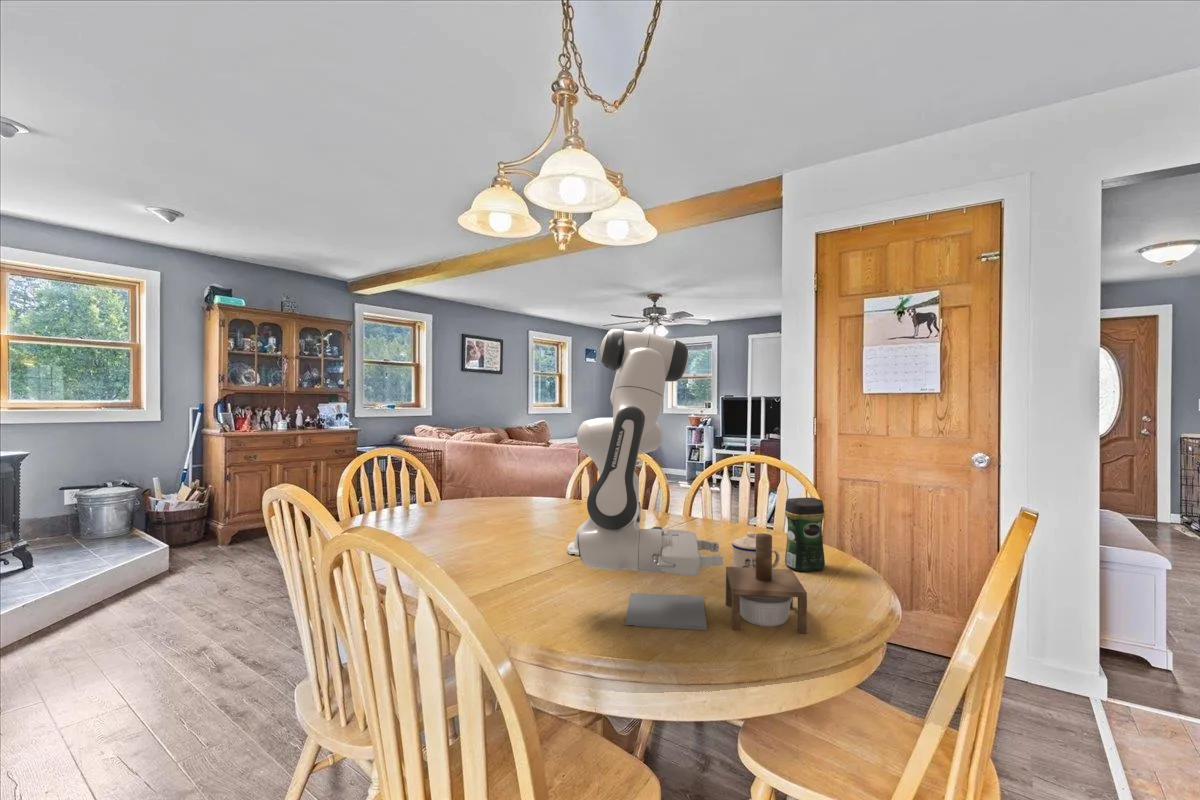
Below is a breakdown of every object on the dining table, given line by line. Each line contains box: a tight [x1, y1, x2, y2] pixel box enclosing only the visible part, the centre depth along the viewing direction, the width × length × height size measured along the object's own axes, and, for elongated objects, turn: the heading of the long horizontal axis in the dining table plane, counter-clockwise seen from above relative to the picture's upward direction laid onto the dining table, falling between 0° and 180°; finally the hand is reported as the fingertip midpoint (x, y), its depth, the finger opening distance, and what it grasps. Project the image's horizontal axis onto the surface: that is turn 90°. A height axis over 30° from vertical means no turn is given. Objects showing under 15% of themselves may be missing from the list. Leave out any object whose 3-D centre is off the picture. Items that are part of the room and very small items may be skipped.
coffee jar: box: [784, 497, 826, 572], centre depth 148 cm, size 10×8×19 cm
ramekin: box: [740, 595, 792, 627], centre depth 115 cm, size 11×11×5 cm
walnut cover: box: [725, 532, 808, 635], centre depth 115 cm, size 14×14×17 cm
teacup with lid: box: [731, 531, 781, 569], centre depth 139 cm, size 12×9×12 cm
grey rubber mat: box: [624, 592, 708, 631], centre depth 118 cm, size 16×16×1 cm
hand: (720, 553), depth 116 cm, fingers open, 8 cm apart
